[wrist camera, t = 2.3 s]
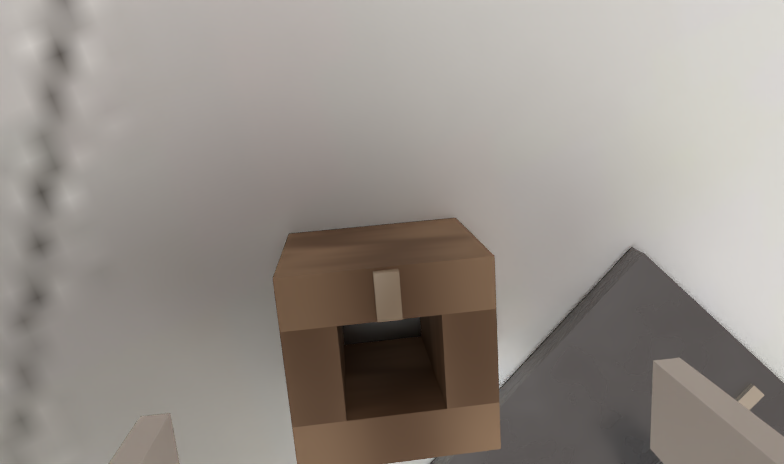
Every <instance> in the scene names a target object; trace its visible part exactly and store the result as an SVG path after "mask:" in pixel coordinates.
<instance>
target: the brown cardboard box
mask: <svg viewBox="0 0 784 464" xmlns="http://www.w3.org/2000/svg"><path fill="white" fill-rule="evenodd" d="M273 285H274V293H275V300H276V308H277V316H278V323H279V331H280V338H281V346H282V353H283V361H284V368H285V376H286V383H287V391H288V399H289V406H290V414H291V421H292V429H293V436H294V444H295V451H296V459H297V464H387V463H395V462H403V461H411V460H418V459H426V458H434V457H442V456H450V455H457V454H465V453H473V452H481V451H489V450H497V449H501V436H500V406H499V377H498V347H497V317H496V287H495V258H494V255H493V254H492V253H491V252H490V251H489V250H488V249H487V248H486V247H485V246H484V245H483V244H482V243H481V242H480V241H479V240H478V239H477V238H476V237H475V236H474V235H473V234H472V233H471V232H469V231H468V230H467V229H466V228H465V227H464V226H463V225H462V224H461V223H460V222H459V221H458V220H457V219H456V218H448V219H438V220H427V221H417V222H406V223H396V224H385V225H375V226H364V227H354V228H343V229H333V230H322V231H312V232H301V233H291V234H289V235H288V238H287V240H286V243H285V246H284V248H283V251H282V254H281V257H280V259H279V262H278V265H277V268H276V270H275V273H274V276H273ZM417 317H420V326H421V336H419V337H410V338H401V339H392V340H383V341H374V342H365V343H356V344H347V345H344V336H343V325H352V324H361V323H370V322H386V321H396V320H403V319H407V318H417Z"/></svg>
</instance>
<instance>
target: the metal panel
mask: <svg viewBox="0 0 784 464" xmlns="http://www.w3.org/2000/svg"><path fill="white" fill-rule="evenodd" d="M672 358H681V359H682V360H684V361H685V362H686V363H687V364H689V365H690V366H691V367H693V368H694V369H695V370H697V371H698V372H699V373H701V374H702V375H703V376H705V377H706V378H707V379H709V380H710V381H711V382H712V383H714V384H715V385H716V386H718V387H719V388H720V389H722V390H723V391H724V392H726V393H727V394H728V395H730V396H731V397H732V398H734V399H735V400H736V401H737V402H739V403H740V404H741V405H743V406H744V407H745V408H747V409H748V410H749V411H751V412H752V413H753V414H755V415H756V416H757V417H759V418H760V419H761V420H762V421H764V422H765V423H766V424H768V425H769V426H770V427H772V428H773V429H774V430H776V431H777V432H778V433H780V434H781V435H782V436H784V383H783V382H782V381H781V380H780V379H779V378H777V377H776V376H775V375H774V374H773V373H772V372H771V371H770V370H769V369H768V368H767V367H766V366H765V365H763V364H762V363H761V362H760V361H759V360H758V359H757V358H756V357H755V356H754V355H753V354H752V353H751V352H749V351H748V350H747V349H746V348H745V347H744V346H743V345H742V344H741V343H740V342H739V341H738V340H737V339H735V338H734V337H733V336H732V335H731V334H730V333H729V332H728V331H727V330H726V329H725V328H724V327H723V326H721V325H720V324H719V323H718V322H717V321H716V320H715V319H714V318H713V317H712V316H711V315H710V314H709V313H707V312H706V311H705V310H704V309H703V308H702V307H701V306H700V305H699V304H698V303H697V302H696V301H695V300H693V299H692V298H691V297H690V296H689V295H688V294H687V293H686V292H685V291H684V290H683V289H682V288H681V287H679V286H678V285H677V284H676V283H675V282H674V281H673V280H672V279H671V278H670V277H669V276H668V275H667V274H666V273H664V272H663V271H662V270H661V269H660V268H659V267H658V266H657V265H656V264H655V263H654V262H653V261H652V260H650V259H649V258H648V257H647V256H646V255H645V254H644V253H642V252H640V251H638V250H636V249H634V248H631V249H630V250H629V251H628V252H627V253H626V254H625V255H624V256H623V257H622V258H621V259H620V260H619V261H618V263H617V264H616V265H615V266H614V267H613V268H612V269H611V270H610V271H609V272H608V273H607V274H606V275H605V277H604V278H603V279H602V280H601V281H600V282H599V283H598V284H597V285H596V286H595V287H594V288H593V289H592V291H591V292H590V293H589V294H588V295H587V296H586V297H585V298H584V299H583V300H582V301H581V302H580V303H579V305H578V306H577V307H576V308H575V309H574V310H573V311H572V312H571V313H570V314H569V315H568V316H567V317H566V318H565V320H564V321H563V322H562V323H561V324H560V325H559V326H558V327H557V328H556V329H555V330H554V331H553V332H552V334H551V335H550V336H549V337H548V338H547V339H546V340H545V341H544V342H543V343H542V344H541V345H540V346H539V348H538V349H537V350H536V351H535V352H534V353H533V354H532V355H531V356H530V357H529V358H528V359H527V360H526V362H525V363H524V364H523V365H522V366H521V367H520V368H519V369H518V370H517V371H516V372H515V373H514V374H513V375H512V377H511V378H510V379H509V380H508V381H507V382H506V383H505V384H504V385H503V386H502V387H501V388H500V389H499V406H500V436H501V449H497V450H489V451H481V452H473V453H465V454H457V455H450V456H442V457H436V458H435V459H434V460H433V462H432V463H431V464H663V463H662V461H661V460H660V459H659V458H658V457H657V456H656V455H655V453H654V452H653V451H652V450H651V449H650V436H651V407H652V377H653V360H662V359H672Z"/></svg>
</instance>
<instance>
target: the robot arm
mask: <svg viewBox="0 0 784 464" xmlns="http://www.w3.org/2000/svg"><path fill="white" fill-rule="evenodd" d="M650 449H651V450H652V451H653V452H654V453H655V455H656V456H657V457H658V458H659V459H660V460H661V461H662V463H663V464H784V436H782V435H781V434H780V433H778V432H777V431H776V430H774V429H773V428H772V427H770V426H769V425H768V424H766V423H765V422H764V421H762V420H761V419H760V418H759V417H757V416H756V415H755V414H753V413H752V412H751V411H749V410H748V409H747V408H745V407H744V406H743V405H741V404H740V403H739V402H737V401H736V400H735V399H734V398H732V397H731V396H730V395H728V394H727V393H726V392H724V391H723V390H722V389H720V388H719V387H718V386H716V385H715V384H714V383H712V382H711V381H710V380H709V379H707V378H706V377H705V376H703V375H702V374H701V373H699V372H698V371H697V370H695V369H694V368H693V367H691V366H690V365H689V364H687V363H686V362H685V361H684V360H682V359H681V358H672V359H662V360H653V377H652V407H651V436H650ZM109 464H179V458H178V453H177V448H176V442H175V437H174V431H173V426H172V421H171V415H170V413H166V414H157V415H148V416H140V418H139V419H138V421H137V422H136V424H135V425H134V427H133V428H132V430H131V431H130V433H129V434H128V436H127V437H126V439H125V440H124V442H123V443H122V445H121V446H120V448H119V449H118V451H117V452H116V454H115V455H114V457H113V458H112V460H111V461H110V463H109Z"/></svg>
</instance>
